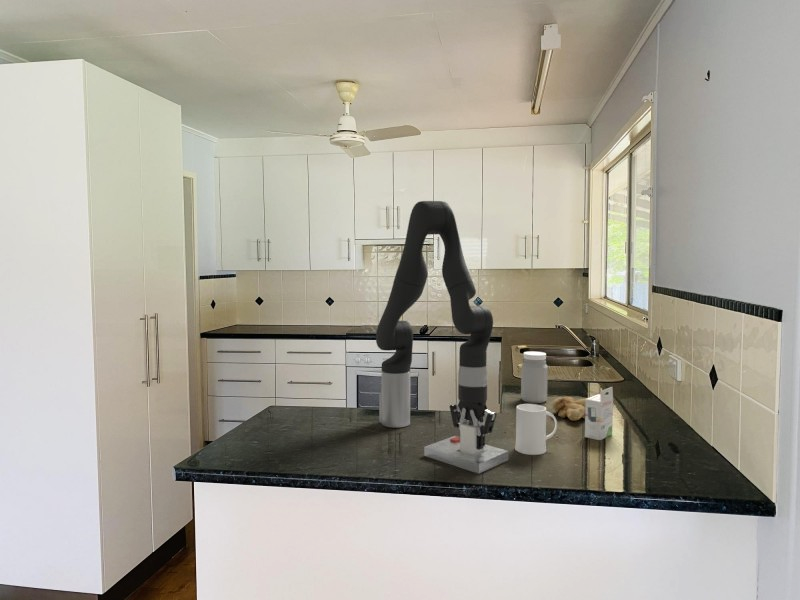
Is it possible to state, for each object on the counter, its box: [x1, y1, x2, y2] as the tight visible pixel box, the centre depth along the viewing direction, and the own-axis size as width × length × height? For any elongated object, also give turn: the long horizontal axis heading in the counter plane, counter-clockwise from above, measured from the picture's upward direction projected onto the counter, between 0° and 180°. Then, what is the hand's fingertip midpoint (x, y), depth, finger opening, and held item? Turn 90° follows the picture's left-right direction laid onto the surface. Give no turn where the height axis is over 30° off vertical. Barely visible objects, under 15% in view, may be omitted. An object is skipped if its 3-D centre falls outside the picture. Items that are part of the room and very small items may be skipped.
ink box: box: [584, 386, 614, 441], centre depth 166 cm, size 9×5×15 cm, turn 134°
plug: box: [459, 421, 484, 456], centre depth 145 cm, size 4×4×10 cm
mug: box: [514, 403, 558, 456], centre depth 153 cm, size 12×8×12 cm
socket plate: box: [423, 435, 509, 474], centre depth 147 cm, size 18×13×3 cm
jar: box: [520, 350, 549, 404], centre depth 208 cm, size 10×10×18 cm
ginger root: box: [552, 396, 588, 421], centre depth 187 cm, size 16×16×8 cm
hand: (472, 446), depth 145 cm, fingers closed on plug, 4 cm apart
